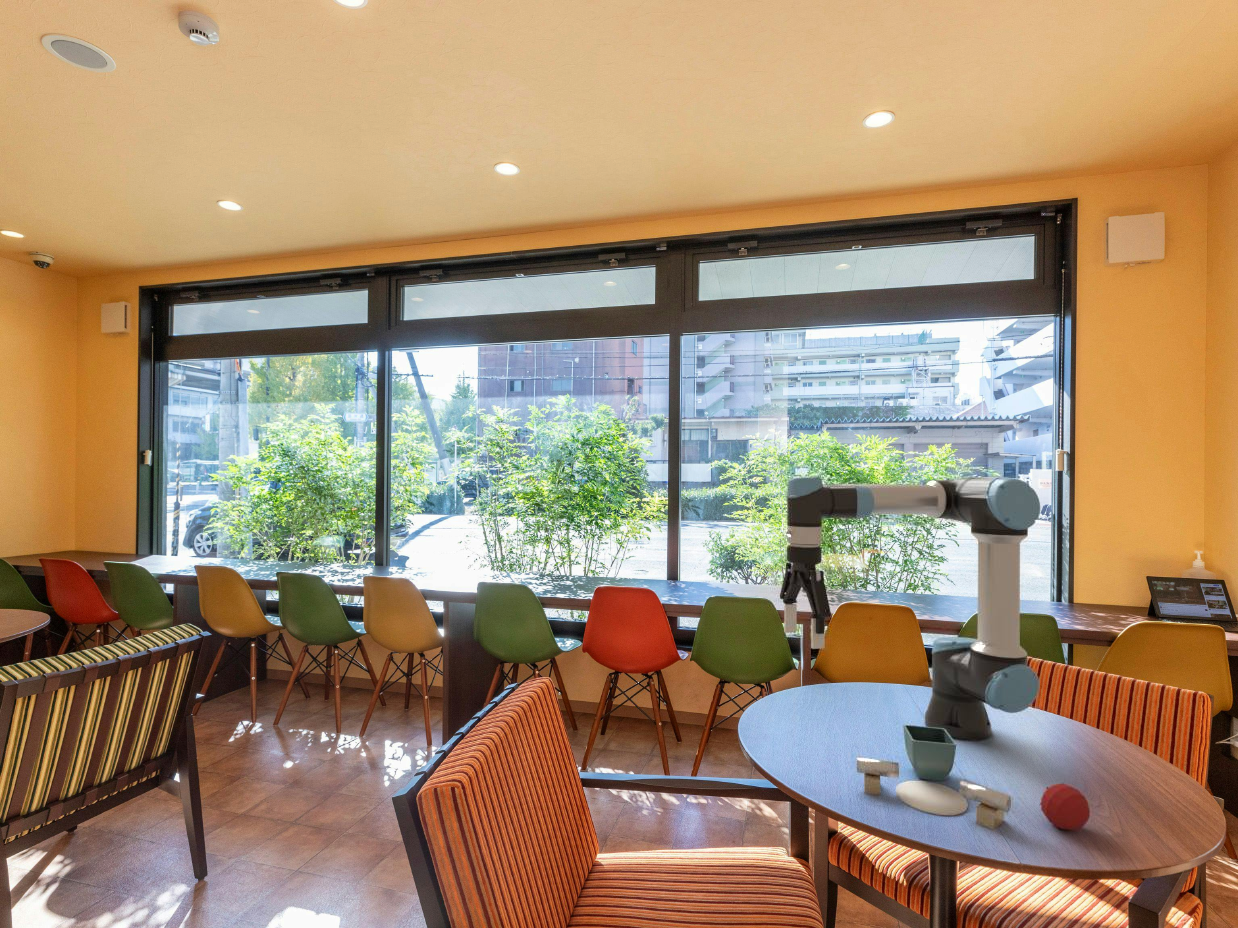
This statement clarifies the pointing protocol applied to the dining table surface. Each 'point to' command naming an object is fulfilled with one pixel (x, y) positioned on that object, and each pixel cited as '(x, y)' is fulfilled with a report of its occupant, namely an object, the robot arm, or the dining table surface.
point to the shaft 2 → (986, 803)
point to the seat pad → (931, 798)
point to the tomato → (1065, 807)
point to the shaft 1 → (876, 772)
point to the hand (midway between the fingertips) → (803, 639)
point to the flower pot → (930, 751)
